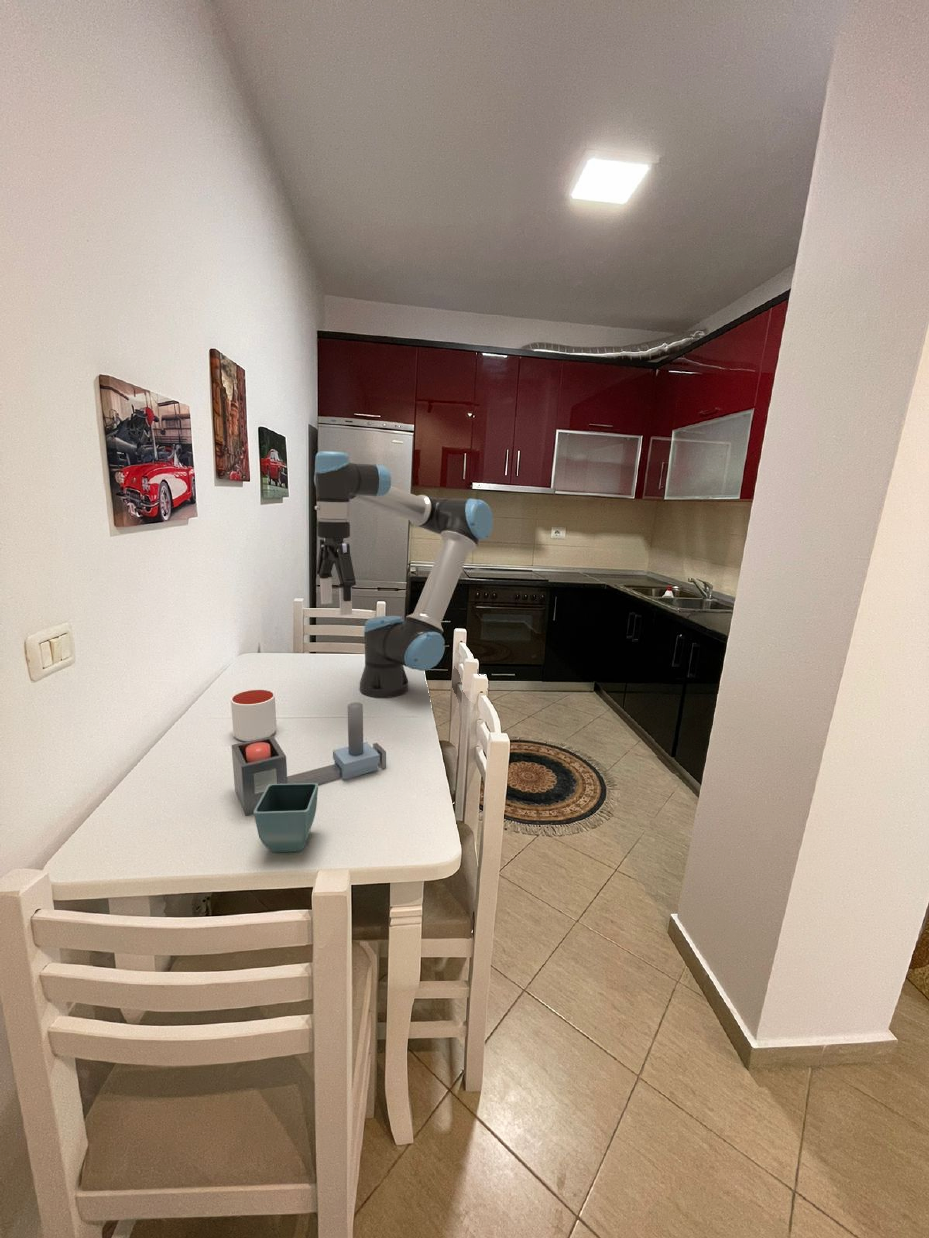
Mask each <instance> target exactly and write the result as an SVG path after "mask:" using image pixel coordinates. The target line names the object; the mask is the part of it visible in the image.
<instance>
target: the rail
mask: <svg viewBox="0 0 929 1238" xmlns="http://www.w3.org/2000/svg"><path fill="white" fill-rule="evenodd" d="M372 748H373V749H374V750H375V751H376V752H377V753H378V754H379V755H380V763H379V764H378V768H380V769H381V770H385V769H387V751H386V750H385V749H384V748H383V747H382V746H381V745H380V744H379V743H378V742H374V743H372ZM341 779H342V769H341V768H340V767H339V765H338V764H330V765H327V766H326V765H325V766H322V767H318V768H315V769H310V770H307V771H303V772H299V773H296V774H292V775H287V782H288V784H294V783H295V784H296V783H318V786H319V785H322V784H326V783H329V782H334V781H336V780H341Z"/></svg>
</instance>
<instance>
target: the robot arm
mask: <svg viewBox="0 0 929 1238" xmlns="http://www.w3.org/2000/svg"><path fill="white" fill-rule="evenodd" d="M349 457H350V456H349V454H347V453H346V452H342V451H323V450H322V451H318V452H317V453H316V455H315V459H314V460H315V461H314V476H313V482H314V486H315V495H316V497H315V498H316V505H315V506H314V510H316V518H317V519H318V520H319V521H318V522H317V523H316V525H317V526H316V528H317V529H316V530H317V531H316V533H317V537H318V538H320V539H319V552H318V559H317V566H316V574H317V575H318V577H319V580H320V581H319V584H320V588H319V589H320V604H321V605H329V604H333V589H332V588H333V586H332V585H333V583H332V581H333V580H332V578H333V574H332V570H333V568H334V567H335V570H336V572H337V573H336V574H337V577H338V580H339V584H338V586H337V588H338V591H339V593H338V595H339V616H346V615H353V597H352V596H353V593H352V592H353V591H352V590H353V589H352V588H353V586H356V584H357V583H356V577H355V572H354V567H353V560H352V556H351V545H350V543H348V542H347V543H344V542H345V541H344V539H349V538H350V537H351V523H350V521H349V520H350V519H351V503H350V501H353V502H356V503H360V504H361V505H364V506H367V507H371V508H373V509H377V510H379V511H382V512H384V513H388V514H391V515H394V516H397V517H400V518H403V519H406V520H408V521H409V522H410V524H411V525H413V526H416V527H419V528H422V529H424V530H426V531H429V532H432V533H434V534H438V535H440V537H441V539H442V542H441V545H440V547H439V549H438V552H437V554H436V557H435V559H434V563H433V564H432V567H431V569H430V571H429V574H428V577H427V579H426V581H425V584H424V587H423V588H422V591H421V594H420V596H419V599H418V600H417V601H418V602H417V604H416V606H415V608H414V611H413V613H411V614H408V615H406V617H405V619H404V618H403V617H402V616H401V615H384V616H383V615H382V616H376V617H372V618H368V619H367V620H366V621H365V623H364V631H363V634H364V668H363V672H362V674H361V677H360V680H359V691H360V693H361V694H362V695H365V696H366V697H371V698H372V697H373V698H382V699H383V698H392V697H398V696H401V695H403V694H405V693H407V691H408V690H409V680H408V676H407V673H406V671H405V667H407V668H409V669H411V670H417V671H421V672H425V671H428V670H430V669H432V668H435V667H436V666H438V664H439V663H440V661H441V660H442V658H443V656H444V653H445V649H446V646H445V644H446V643H445V639H444V637H443V633H444V628H443V627H442V622H443V619H444V616H445V615H446V611H447V608H448V607H449V604H450V601H451V599H452V596H453V594H454V591H455V589H456V586H457V584H458V581H459V580H460V579H459V578H460V576H461V575H462V571H463V569H464V566H465V563H466V561H467V559H468V556H469V553H470V552H471V551H474V550H476V549H477V547H478V544H479V542H480V541H483V540H486V539H487V538H489V536H490V535H491V534H492V531H493V527H494V517H493V512H492V510H491V507H490V506H489V505H488V503H487V502H485V500H482V499H477V498H476V499H475V498H472V497H471V498H454V497H453V498H452V497H451V498H449V497H433V496H432V497H431V496H427V495H425V494H419V495H415V494H413V493H411V492H408V491H405V490H403V489H400V488H397V487H395V486H393V485H392V476H391V473H390V471H389V469H388V468H387V467H385V466H384V465H379V464H378V465H377V464H368V463H367V464H366V463H356V462H355V463H354V462H350V458H349Z"/></svg>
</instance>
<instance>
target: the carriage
mask: <svg viewBox="0 0 929 1238" xmlns="http://www.w3.org/2000/svg"><path fill="white" fill-rule="evenodd" d="M347 736H348V737H347V739H348V740H347V744H348V746H344V747H340V748H337V749H333V750H332V760H334V761H333V763H334V764H338V765H339V767H340V768H341V769H342V778H341V779H342V780H347V779H350V778H355V777H357V776H360V775H363V774H367V773H372V772H375V771H378V770H379V766H378V764H379V763H380V755H379V754H378V753H377V752H376V751H375V750H374V749H373V746H371V744H369V743H368V742H367V741H366V742H365V741H364V705H363V703H361V702H352V703H349V704H347Z"/></svg>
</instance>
